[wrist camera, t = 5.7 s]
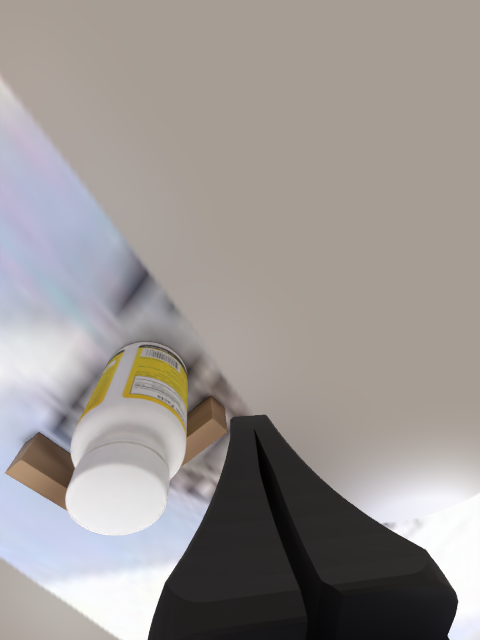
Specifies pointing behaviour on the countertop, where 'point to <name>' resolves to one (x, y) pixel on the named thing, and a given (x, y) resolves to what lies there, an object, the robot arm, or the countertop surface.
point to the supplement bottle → (129, 441)
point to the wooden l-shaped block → (57, 466)
